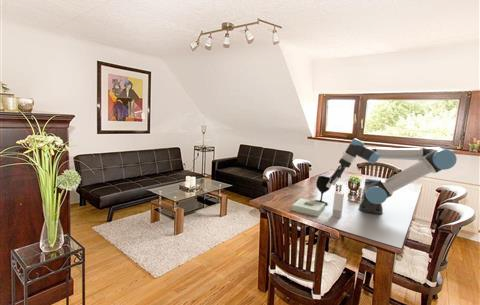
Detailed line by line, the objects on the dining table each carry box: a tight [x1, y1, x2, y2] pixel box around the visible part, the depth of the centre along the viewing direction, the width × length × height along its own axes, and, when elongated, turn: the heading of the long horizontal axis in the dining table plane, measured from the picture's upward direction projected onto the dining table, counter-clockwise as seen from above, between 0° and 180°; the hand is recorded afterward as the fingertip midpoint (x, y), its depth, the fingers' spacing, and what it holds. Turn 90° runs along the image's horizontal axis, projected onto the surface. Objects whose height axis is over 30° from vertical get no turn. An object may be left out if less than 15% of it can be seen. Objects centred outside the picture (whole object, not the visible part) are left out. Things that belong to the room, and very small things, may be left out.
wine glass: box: [314, 175, 331, 206], centre depth 195 cm, size 10×10×20 cm
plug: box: [331, 190, 345, 219], centre depth 171 cm, size 5×5×16 cm
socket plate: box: [291, 197, 326, 217], centre depth 182 cm, size 18×18×4 cm
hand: (330, 185), depth 182 cm, fingers open, 13 cm apart
